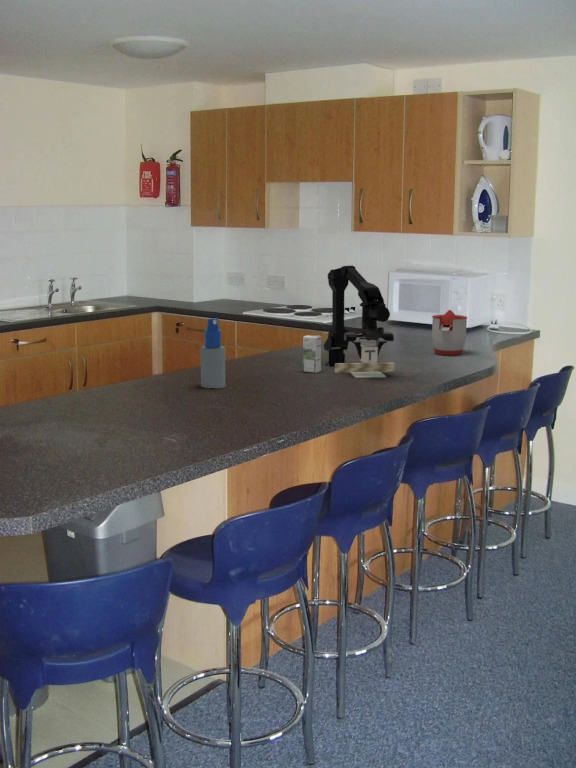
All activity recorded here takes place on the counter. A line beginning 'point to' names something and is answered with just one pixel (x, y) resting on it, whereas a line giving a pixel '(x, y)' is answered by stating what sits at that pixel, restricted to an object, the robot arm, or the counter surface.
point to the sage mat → (367, 374)
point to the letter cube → (369, 353)
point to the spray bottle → (212, 357)
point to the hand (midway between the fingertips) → (368, 358)
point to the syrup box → (311, 353)
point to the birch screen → (364, 367)
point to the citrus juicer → (449, 333)
